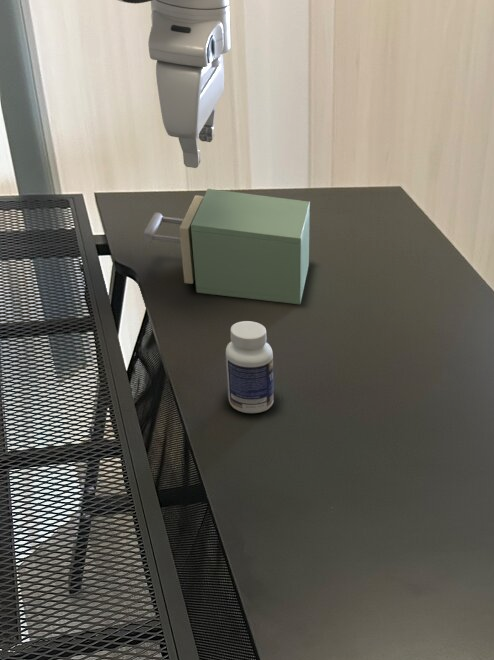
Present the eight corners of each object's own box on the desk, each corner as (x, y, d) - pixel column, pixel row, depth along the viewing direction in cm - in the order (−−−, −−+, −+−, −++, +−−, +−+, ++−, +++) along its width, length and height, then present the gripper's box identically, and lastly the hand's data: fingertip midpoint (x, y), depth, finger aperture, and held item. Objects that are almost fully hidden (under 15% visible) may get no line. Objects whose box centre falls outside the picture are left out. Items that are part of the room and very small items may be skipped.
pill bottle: (279, 411, 104) (278, 338, 97) (235, 417, 101) (231, 344, 94) (266, 387, 107) (264, 315, 100) (223, 393, 105) (218, 320, 98)
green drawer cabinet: (196, 292, 121) (190, 224, 114) (211, 253, 129) (207, 188, 123) (300, 304, 122) (300, 238, 115) (308, 265, 131) (309, 201, 124)
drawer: (142, 278, 120) (135, 222, 114) (160, 243, 127) (154, 189, 122) (281, 294, 122) (280, 240, 116) (289, 259, 130) (289, 206, 124)
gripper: (182, 3, 108) (191, 122, 117) (144, 46, 93) (157, 177, 103) (233, 11, 108) (237, 129, 118) (202, 55, 94) (210, 185, 104)
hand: (199, 152), depth 111 cm, fingers open, 8 cm apart
